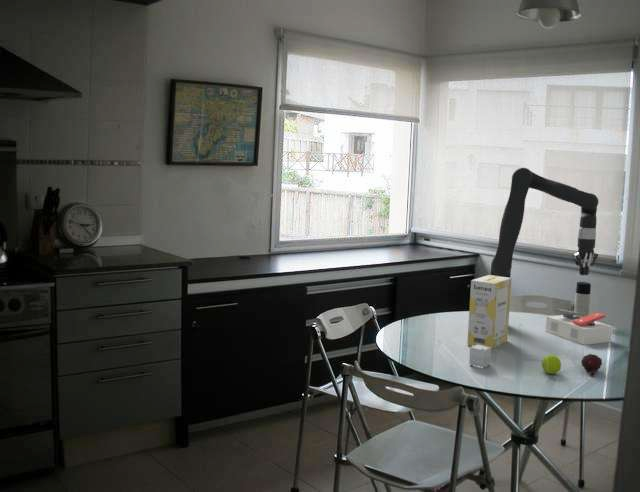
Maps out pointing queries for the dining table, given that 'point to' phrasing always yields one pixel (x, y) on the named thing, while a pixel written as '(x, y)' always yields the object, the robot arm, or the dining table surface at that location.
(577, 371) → the dining table surface
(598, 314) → the rocker
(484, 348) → the skincare box
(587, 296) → the spray can
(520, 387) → the dining table surface
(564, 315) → the power strip
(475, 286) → the pasta box
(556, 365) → the tennis ball
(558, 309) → the rocker
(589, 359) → the icecream
